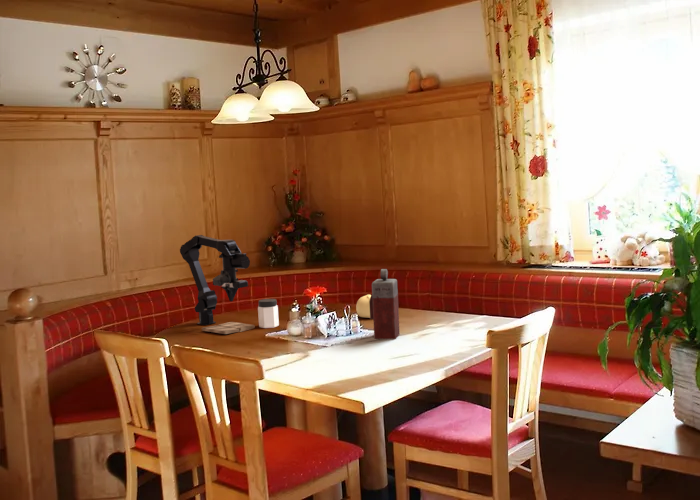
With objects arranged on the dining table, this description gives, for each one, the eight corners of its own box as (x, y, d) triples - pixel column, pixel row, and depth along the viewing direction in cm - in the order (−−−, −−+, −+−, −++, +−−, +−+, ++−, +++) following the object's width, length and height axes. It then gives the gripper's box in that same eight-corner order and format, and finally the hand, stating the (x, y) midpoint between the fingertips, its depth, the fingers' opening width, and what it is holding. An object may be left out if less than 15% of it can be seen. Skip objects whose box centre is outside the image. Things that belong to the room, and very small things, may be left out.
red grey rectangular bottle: (373, 333, 323) (370, 267, 320) (399, 334, 320) (396, 267, 317) (368, 338, 314) (365, 270, 311) (395, 339, 311) (392, 270, 308)
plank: (201, 330, 344) (201, 327, 344) (215, 328, 351) (215, 325, 350) (225, 334, 334) (225, 331, 334) (239, 331, 340) (239, 328, 340)
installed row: (216, 328, 351) (216, 325, 351) (231, 324, 358) (231, 321, 357) (240, 331, 341) (239, 328, 340) (254, 328, 347) (254, 324, 347)
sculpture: (382, 319, 353) (381, 295, 352) (356, 320, 354) (355, 297, 352) (382, 314, 365) (381, 291, 364) (356, 315, 365) (355, 293, 364)
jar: (282, 325, 349) (280, 299, 348) (267, 329, 344) (265, 302, 343) (271, 323, 356) (269, 297, 355) (256, 326, 351) (254, 300, 349)
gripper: (202, 268, 351) (204, 302, 353) (228, 271, 338) (230, 306, 340) (221, 265, 359) (223, 298, 361) (247, 268, 346) (249, 302, 348)
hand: (231, 301), depth 352 cm, fingers closed
